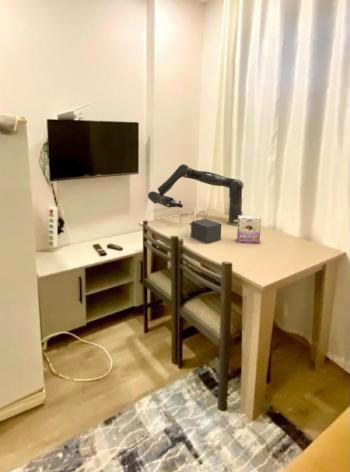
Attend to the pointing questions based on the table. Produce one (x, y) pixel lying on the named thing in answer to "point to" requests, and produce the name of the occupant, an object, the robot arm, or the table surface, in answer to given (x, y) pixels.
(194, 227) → the dark grey rectangular block
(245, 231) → the candy box
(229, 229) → the table surface
